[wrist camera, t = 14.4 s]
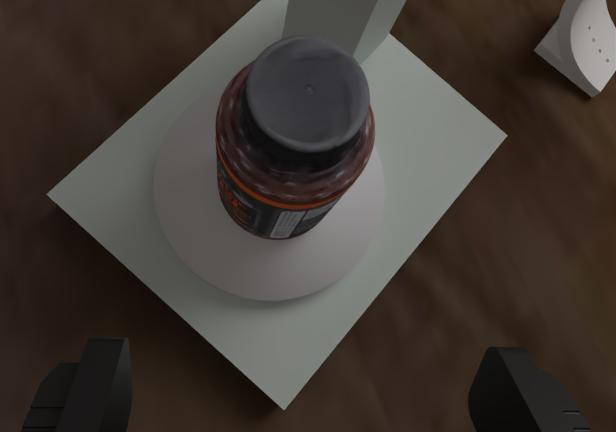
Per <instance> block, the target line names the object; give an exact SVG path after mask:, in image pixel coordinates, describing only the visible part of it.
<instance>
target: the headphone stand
mask: <svg viewBox="0 0 616 432" xmlns="http://www.w3.org/2000/svg"><path fill="white" fill-rule="evenodd" d="M534 51H535V52H536V53H537V54H538V55H540V56H541V57H542V58H543V59H545V60H546V61H547V62H548V63H550V64H551V65H552V66H553V67H555V68H556V69H557V70H558V71H560V72H561V73H562V74H563V75H564V76H566V77H567V78H568V79H569V80H571V81H572V82H573V83H574V84H576V85H577V86H578V87H579V88H581V89H582V90H583V91H584V92H586V93H587V94H588V95H589V96H591V97H594V96H595V95H597V94H598V93H600V92H601V91H602V89H603V88H604V86H605V85H606V83H607V82H608V81H609V79H610V78H611V76H612V75H613V74H614V72H615V71H616V28H615V26H614V24H613V22H612V21H611V18H610V16H609V13H608V10H607V6H606V0H566V1H565V3H564V5H563V7H562V10H561V12H560V16H559V19H558V20H557V21H556V22H555V24H554V25H553V26H552V28H551V29H550V30H549V31H548V33H547V34H546V35H545V37H544V38H543V39H542V40H541V42H540V43H539V44H538V46H537V47H536V48H535V49H534Z"/></svg>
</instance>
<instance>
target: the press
mask: <svg viewBox="0 0 616 432" xmlns="http://www.w3.org/2000/svg"><path fill="white" fill-rule="evenodd" d="M405 2H406V0H261V1H260V2H259V3H258V4H257V5H255V6H254V7H253V8H252V9H251V10H250V11H249V12H248V13H247V14H246V15H244V16H243V17H242V18H241V19H240V20H239V21H238V22H237V23H236V24H234V25H233V26H232V27H231V28H230V29H229V30H228V31H227V32H226V33H224V34H223V35H222V36H221V37H220V38H219V39H218V40H217V41H216V42H215V43H213V44H212V45H211V46H210V47H209V48H208V49H207V50H206V51H205V52H203V53H202V54H201V55H200V56H199V57H198V58H197V59H196V60H195V61H194V62H192V63H191V64H190V65H189V66H188V67H187V68H186V69H185V70H184V71H182V72H181V73H180V74H179V75H178V76H177V77H176V78H175V79H174V80H172V81H171V82H170V83H169V84H168V85H167V86H166V87H165V88H164V89H163V90H161V91H160V92H159V93H158V94H157V95H156V96H155V97H154V98H153V99H151V100H150V101H149V102H148V103H147V104H146V105H145V106H144V107H143V108H141V109H140V110H139V111H138V112H137V113H136V114H135V115H134V116H133V117H132V118H130V119H129V120H128V121H127V122H126V123H125V124H124V125H123V126H122V127H120V128H119V129H118V130H117V131H116V132H115V133H114V134H113V135H112V136H111V137H109V138H108V139H107V140H106V141H105V142H104V143H103V144H102V145H101V146H99V147H98V148H97V149H96V150H95V151H94V152H93V153H92V154H91V155H89V156H88V157H87V158H86V159H85V160H84V161H83V162H82V163H81V164H80V165H78V166H77V167H76V168H75V169H74V170H73V171H72V172H71V173H70V174H68V175H67V176H66V177H65V178H64V179H63V180H62V181H61V182H60V183H58V184H57V185H56V186H55V187H54V188H53V189H52V190H51V191H50V192H49V193H47V194H46V195H48V196H49V197H50V198H51V199H52V200H53V201H54V202H55V203H56V204H58V205H59V206H60V207H61V208H62V209H63V210H64V211H65V212H66V213H67V214H69V215H70V216H71V217H72V218H73V219H74V220H75V221H76V222H77V223H78V224H80V225H81V226H82V227H83V228H84V229H85V230H86V231H87V232H88V233H89V234H91V235H92V236H93V237H94V238H95V239H96V240H97V241H98V242H99V243H100V244H102V245H103V246H104V247H105V248H106V249H107V250H108V251H109V252H110V253H111V254H113V255H114V256H115V257H116V258H117V259H118V260H119V261H120V262H121V263H122V264H124V265H125V266H126V267H127V268H128V269H129V270H130V271H131V272H132V273H133V274H135V275H136V276H137V277H138V278H139V279H140V280H141V281H142V282H143V283H144V284H146V285H147V286H148V287H149V288H150V289H151V290H152V291H153V292H154V293H155V294H157V295H158V296H159V297H160V298H161V299H162V300H163V301H164V302H165V303H166V304H168V305H169V306H170V307H171V308H172V309H173V310H174V311H175V312H176V313H177V314H179V315H180V316H181V317H182V318H183V319H184V320H185V321H186V322H187V323H188V324H190V325H191V326H192V327H193V328H194V329H195V330H196V331H197V332H198V333H200V334H201V335H202V336H203V337H204V338H205V339H206V340H207V341H208V342H209V343H211V344H212V345H213V346H214V347H215V348H216V349H217V350H218V351H219V352H220V353H222V354H223V355H224V356H225V357H226V358H227V359H228V360H229V361H230V362H231V363H233V364H234V365H235V366H236V367H237V368H238V369H239V370H240V371H241V372H242V373H244V374H245V375H246V376H247V377H248V378H249V379H250V380H251V381H252V382H253V383H255V384H256V385H257V386H258V387H259V388H260V389H261V390H262V391H263V392H264V393H266V394H267V395H268V396H269V397H270V398H271V399H272V400H273V401H274V402H275V403H277V404H278V405H279V406H280V407H281V408H282V409H283V410H285V409H286V407H287V406H288V405H289V404H290V402H291V401H292V400H293V399H294V397H295V396H296V395H297V394H298V393H299V391H300V390H301V389H302V388H303V386H304V385H305V384H306V383H307V382H308V380H309V379H310V378H311V377H312V375H313V374H314V373H315V372H316V370H317V369H318V368H319V367H320V366H321V364H322V363H323V362H324V361H325V359H326V358H327V357H328V356H329V354H330V353H331V352H332V351H333V350H334V348H335V347H336V346H337V345H338V343H339V342H340V341H341V340H342V338H343V337H344V336H345V335H346V334H347V332H348V331H349V330H350V329H351V327H352V326H353V325H354V324H355V322H356V321H357V320H358V319H359V318H360V316H361V315H362V314H363V313H364V311H365V310H366V309H367V308H368V306H369V305H370V304H371V303H372V302H373V300H374V299H375V298H376V297H377V295H378V294H379V293H380V292H381V290H382V289H383V288H384V287H385V286H386V284H387V283H388V282H389V281H390V279H391V278H392V277H393V276H394V274H395V273H396V272H397V271H398V270H399V268H400V267H401V266H402V265H403V263H404V262H405V261H406V260H407V258H408V257H409V256H410V255H411V254H412V252H413V251H414V250H415V249H416V247H417V246H418V245H419V244H420V242H421V241H422V240H423V239H424V238H425V236H426V235H427V234H428V233H429V231H430V230H431V229H432V228H433V226H434V225H435V224H436V223H437V222H438V220H439V219H440V218H441V217H442V215H443V214H444V213H445V212H446V210H447V209H448V208H449V207H450V206H451V204H452V203H453V202H454V201H455V199H456V198H457V197H458V196H459V194H460V193H461V192H462V191H463V190H464V188H465V187H466V186H467V185H468V183H469V182H470V181H471V180H472V178H473V177H474V176H475V175H476V174H477V172H478V171H479V170H480V169H481V167H482V166H483V165H484V164H485V162H486V161H487V160H488V159H489V158H490V156H491V155H492V154H493V153H494V151H495V150H496V149H497V148H498V146H499V145H500V144H501V143H502V142H503V140H504V139H505V138H506V137H507V135H506V134H505V133H504V132H503V131H502V130H501V129H499V128H498V127H497V126H496V125H495V124H494V123H493V122H491V121H490V120H489V119H488V118H487V117H486V116H484V115H483V114H482V113H481V112H480V111H479V110H477V109H476V108H475V107H474V106H473V105H472V104H471V103H469V102H468V101H467V100H466V99H465V98H464V97H462V96H461V95H460V94H459V93H458V92H457V91H455V90H454V89H453V88H452V87H451V86H450V85H448V84H447V83H446V82H445V81H444V80H443V79H442V78H440V77H439V76H438V75H437V74H436V73H435V72H433V71H432V70H431V69H430V68H429V67H428V66H426V65H425V64H424V63H423V62H422V61H421V60H419V59H418V58H417V57H416V56H415V55H414V54H413V53H411V52H410V51H409V50H408V49H407V48H406V47H404V46H403V45H402V44H401V43H400V42H399V41H397V40H396V39H395V38H394V37H393V36H392V35H390V34H389V32H390V30H391V28H392V26H393V24H394V22H395V20H396V19H397V17H398V15H399V13H400V11H401V9H402V7H403V5H404V3H405ZM292 36H315V37H319V38H323V39H326V40H329V41H332V42H333V43H335V44H337V45H339V46H340V47H342V48H343V49H345V50H346V51H348V52H349V53H350V54H351V55H352V56H353V57H354V59H355V60H356V61H357V62H358V64H359V65H360V67H361V68H362V69H363V71H364V73H365V77H366V79H367V82H368V86H369V92H370V104H371V107H372V111H373V115H374V121H375V141H374V146H373V150H372V153H371V156H370V159H369V161H368V163H367V165H366V166H365V168H364V170H363V172H362V173H361V175H360V176H359V177H358V178H357V180H356V181H355V183H354V184H353V185H352V186H351V187H350V188H349V189H348V190H347V192H346V193H345V194H344V195H343V196H342V197H341V199H340V200H339V201H338V202H337V203H336V204H335V205H334V206H333V208H332V209H331V210H330V211H329V212H328V213H327V215H326V216H325V217H324V218H323V219H322V220H321V221H320V222H319V223H318V224H317V225H316V226H315V227H314V228H312V229H311V230H309V231H308V232H306V233H304V234H303V235H300V236H298V237H295V238H292V239H286V240H269V239H263V238H260V237H257V236H254V235H252V234H250V233H249V232H247V231H245V230H243V229H242V228H241V227H240V226H239V225H237V224H236V223H235V222H234V221H233V219H232V218H231V217H230V216H229V214H228V213H227V211H226V210H225V208H224V206H223V203H222V201H221V199H220V195H219V190H218V182H217V156H216V142H215V138H216V128H215V126H216V115H217V110H218V106H219V103H220V99H221V97H222V94H223V92H224V90H225V88H226V87H227V85H228V84H229V82H230V81H231V80H232V78H233V77H234V76H235V75H236V74H237V73H238V72H239V71H240V70H241V69H242V68H243V67H245V66H246V65H248V64H249V63H251V62H252V61H254V60H256V58H257V57H258V56H259V55H260V54H261V53H262V51H264V50H265V49H266V48H267V47H268V46H270V45H272V44H273V43H275V42H277V41H279V40H282V39H285V38H289V37H292Z"/></svg>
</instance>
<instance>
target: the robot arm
mask: <svg viewBox="0 0 616 432" xmlns="http://www.w3.org/2000/svg"><path fill="white" fill-rule="evenodd" d="M131 403H132V376H131V363H130V350H129V341H128V338H108V337H91V338H90V339H89V340H88V342H87V344H86V347H85V350H84V353H83V355H82V358H81V361H80V363H59V364H58V365H57V367H56V368H55V369H54V370H53V371H52V372H51V373H50V374H49V375H48V376H47V377H46V378H45V379H44V380H43V381H42V382H41V383H40V386H39V388H38V390H37V393H36V395H35V398H34V400H33V402H32V405H31V409H30V412H28V414H27V417H26V419H25V421H24V424H23V426H22V431H21V432H126V429H127V425H128V421H129V416H130V410H131ZM468 406H469V412H470V416H471V419H472V422H473V424H474V427H475V429H476V432H590V427H589V425H588V424H587V422H586V420H585V419H584V417H583V416H582V415H580V414H579V409H578V408H577V406H576V404H575V403H574V401H573V399H572V398H571V396H570V395H569V393H568V391H567V390H566V389H565V388H564V387H563V386H562V385H561V384H560V383H559V382H558V381H557V380H555V379H554V378H553V377H552V376H551V375H550V374H549V373H548V372H547V371H539V369H538V368H537V366H536V364H535V363H534V361H533V359H532V358H531V356H530V354H529V353H528V352H527V350H525V349H524V348H518V347H490V348H488V349H487V350H486V352H485V354H484V357H483V359H482V362H481V364H480V367H479V369H478V371H477V374H476V376H475V379H474V381H473V384H472V386H471V389H470V391H469V397H468Z"/></svg>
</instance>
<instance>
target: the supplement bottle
mask: <svg viewBox="0 0 616 432" xmlns="http://www.w3.org/2000/svg"><path fill="white" fill-rule="evenodd" d="M215 128H216V138H215V142H216V156H217V182H218V190H219V195H220V199H221V201H222V203H223V206H224V208H225V210H226V211H227V213H228V214H229V216H230V217H231V218H232V219H233V221H234V222H235V223H236V224H237V225H239V226H240V227H241V228H242V229H243V230H245V231H247V232H249V233H250V234H252V235H254V236H257V237H260V238H263V239H269V240H286V239H292V238H295V237H298V236H300V235H303V234H304V233H306V232H308V231H309V230H311V229H312V228H314V227H315V226H316V225H317V224H318V223H319V222H320V221H321V220H322V219H323V218H324V217H325V216H326V215H327V213H328V212H329V211H330V210H331V209H332V208H333V206H334V205H335V204H336V203H337V202H338V201H339V200H340V199H341V197H342V196H343V195H344V194H345V193H346V192H347V190H348V189H349V188H350V187H351V186H352V185H353V184H354V183H355V181H356V180H357V178H358V177H359V176H360V175H361V173H362V172H363V170H364V168H365V166H366V165H367V163H368V161H369V159H370V156H371V153H372V150H373V146H374V141H375V121H374V115H373V111H372V107H371V104H370V92H369V86H368V82H367V79H366V77H365V73H364V71H363V69H362V68H361V67H360V65H359V64H358V62H357V61H356V60H355V59H354V57H353V56H352V55H351V54H350V53H349V52H348V51H346V50H345V49H343V48H342V47H340V46H339V45H337V44H335V43H333V42H332V41H329V40H326V39H323V38H319V37H315V36H292V37H289V38H285V39H282V40H279V41H277V42H275V43H273V44H272V45H270V46H268V47H267V48H266V49H265V50H264V51H262V53H261V54H260V55H259V56H258V57H257V58H256V60H254V61H252V62H251V63H249V64H248V65H246V66H245V67H243V68H242V69H241V70H240V71H239V72H238V73H237V74H236V75H235V76H234V77H233V78H232V80H231V81H230V82H229V84H228V85H227V87H226V88H225V90H224V92H223V94H222V97H221V99H220V103H219V106H218V110H217V115H216V126H215Z"/></svg>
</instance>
